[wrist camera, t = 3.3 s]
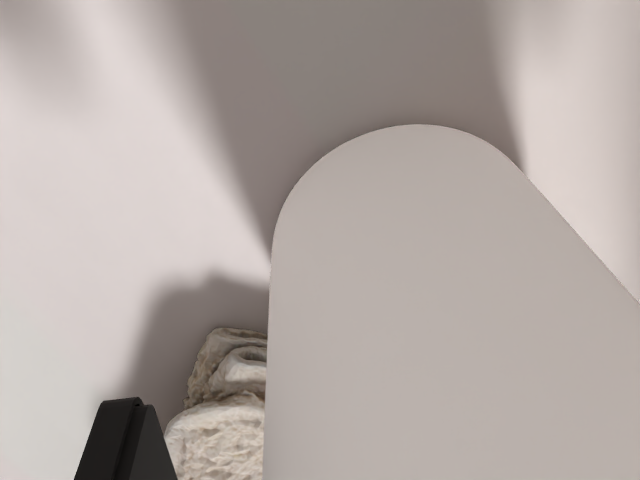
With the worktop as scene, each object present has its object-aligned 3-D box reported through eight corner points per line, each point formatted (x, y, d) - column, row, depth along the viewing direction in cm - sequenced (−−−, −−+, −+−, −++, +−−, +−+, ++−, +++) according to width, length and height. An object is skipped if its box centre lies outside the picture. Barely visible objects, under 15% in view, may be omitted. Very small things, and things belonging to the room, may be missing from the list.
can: (216, 246, 14) (35, 1164, 4) (419, 53, 12) (1193, 923, 2) (389, 380, 17) (559, 1154, 6) (582, 239, 15) (1292, 1047, 4)
